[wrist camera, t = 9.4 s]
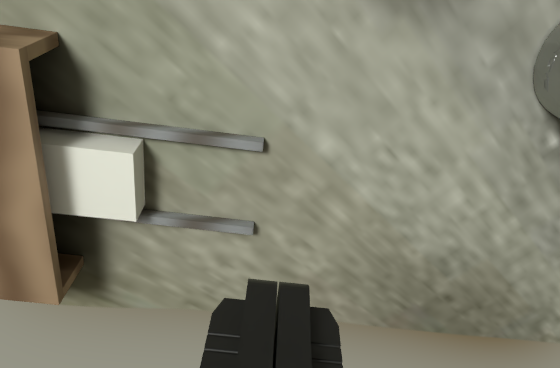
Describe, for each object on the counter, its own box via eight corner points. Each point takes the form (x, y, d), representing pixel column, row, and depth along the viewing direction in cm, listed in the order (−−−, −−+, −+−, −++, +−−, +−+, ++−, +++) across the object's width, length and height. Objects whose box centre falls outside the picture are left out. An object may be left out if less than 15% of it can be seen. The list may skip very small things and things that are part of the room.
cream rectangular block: (144, 137, 38) (133, 153, 35) (146, 201, 41) (136, 221, 38) (-3, 120, 37) (-26, 136, 34) (11, 187, 40) (-10, 206, 37)
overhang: (273, 60, 34) (270, 81, 29) (247, 281, 45) (242, 323, 40) (-41, 19, 33) (-97, 34, 28) (10, 256, 43) (-24, 296, 39)
